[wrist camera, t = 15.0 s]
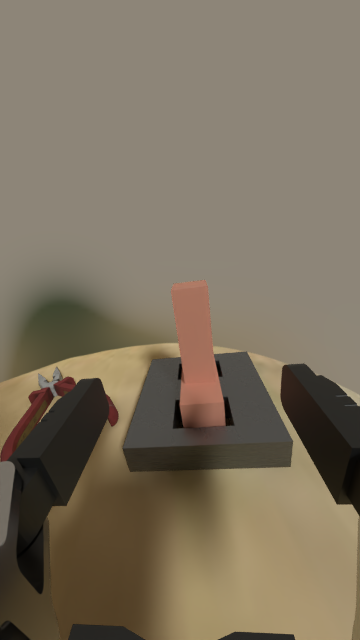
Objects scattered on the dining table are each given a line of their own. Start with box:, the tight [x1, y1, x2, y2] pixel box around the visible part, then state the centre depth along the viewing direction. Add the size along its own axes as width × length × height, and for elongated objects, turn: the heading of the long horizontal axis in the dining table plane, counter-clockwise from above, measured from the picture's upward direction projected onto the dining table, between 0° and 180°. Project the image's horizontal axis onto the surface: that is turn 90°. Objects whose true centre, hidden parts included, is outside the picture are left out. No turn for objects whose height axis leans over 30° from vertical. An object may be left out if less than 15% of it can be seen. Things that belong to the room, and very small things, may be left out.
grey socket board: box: [123, 352, 293, 472], centre depth 23 cm, size 14×14×3 cm
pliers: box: [1, 367, 118, 462], centre depth 28 cm, size 12×20×3 cm, turn 39°
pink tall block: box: [171, 280, 226, 428], centre depth 21 cm, size 4×9×15 cm, turn 177°
